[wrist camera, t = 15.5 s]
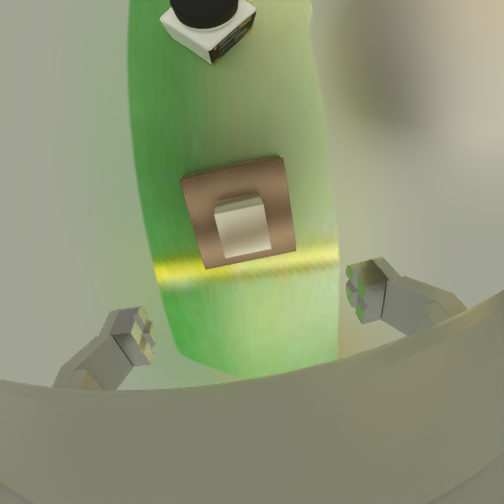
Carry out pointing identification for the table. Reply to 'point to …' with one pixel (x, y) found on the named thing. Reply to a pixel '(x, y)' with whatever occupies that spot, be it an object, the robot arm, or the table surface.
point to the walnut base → (234, 185)
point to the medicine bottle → (209, 25)
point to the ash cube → (242, 225)
